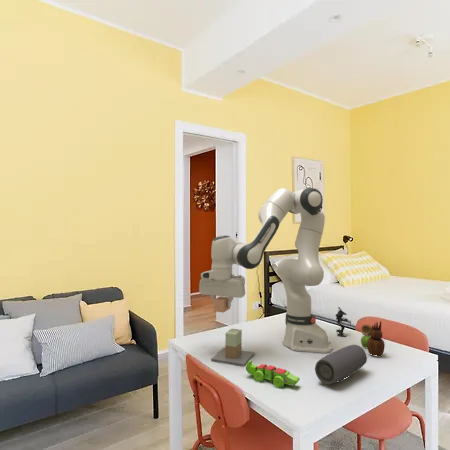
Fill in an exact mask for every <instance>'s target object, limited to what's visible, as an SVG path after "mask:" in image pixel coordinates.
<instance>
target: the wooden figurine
mask: <svg viewBox="0 0 450 450" xmlns="http://www.w3.org/2000/svg"><path fill="white" fill-rule="evenodd" d="M373 325H374V327H373ZM373 325H372V326H371V328H372V329H371V330H370V336H371V337H370V338H369V339H368V341H367V351H368V353H370V354H372V355H377V356H381V355H382V356H383V355H384V352H385V347H386V345H385V341H384V340H383V339H382V338H383V331H382V321H380V322H379V324H378V321H376V324H375V323H374V324H373ZM375 325H376V327H375ZM370 354H369V355H370ZM372 355H371V356H372ZM382 356H381V357H382Z"/></svg>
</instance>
